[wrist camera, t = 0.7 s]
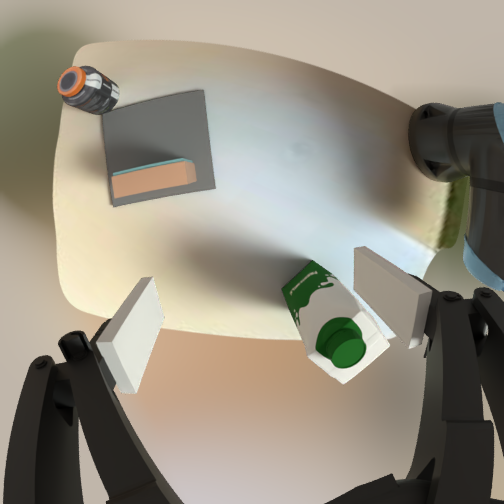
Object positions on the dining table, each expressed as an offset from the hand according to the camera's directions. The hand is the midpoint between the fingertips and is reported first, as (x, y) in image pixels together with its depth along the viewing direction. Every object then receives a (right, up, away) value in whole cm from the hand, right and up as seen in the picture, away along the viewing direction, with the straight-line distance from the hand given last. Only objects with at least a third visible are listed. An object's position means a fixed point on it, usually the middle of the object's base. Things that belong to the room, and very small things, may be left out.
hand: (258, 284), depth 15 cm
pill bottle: (-24, +26, +17) cm, 39 cm away
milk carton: (+9, -4, +30) cm, 31 cm away
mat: (-14, +17, +21) cm, 30 cm away
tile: (-13, +13, +21) cm, 28 cm away
